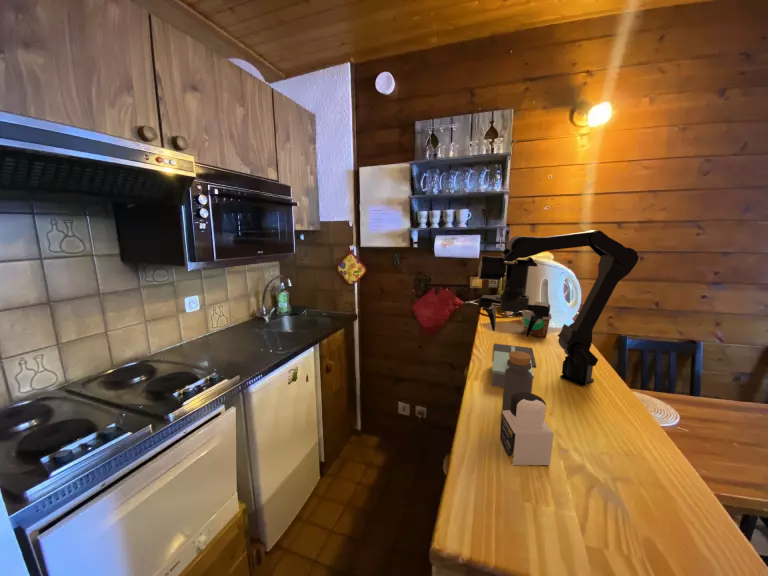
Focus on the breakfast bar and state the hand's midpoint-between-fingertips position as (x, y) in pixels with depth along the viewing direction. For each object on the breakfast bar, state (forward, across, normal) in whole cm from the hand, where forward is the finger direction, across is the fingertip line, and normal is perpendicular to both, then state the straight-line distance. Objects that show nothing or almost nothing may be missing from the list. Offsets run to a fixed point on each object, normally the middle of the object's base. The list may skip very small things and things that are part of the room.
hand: (509, 333), depth 92 cm
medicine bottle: (+13, +9, -33) cm, 37 cm away
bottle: (+13, +5, -20) cm, 25 cm away
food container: (+13, +3, +42) cm, 44 cm away
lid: (+10, +2, -1) cm, 10 cm away
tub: (+13, +2, -1) cm, 13 cm away
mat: (+13, 0, +17) cm, 21 cm away
